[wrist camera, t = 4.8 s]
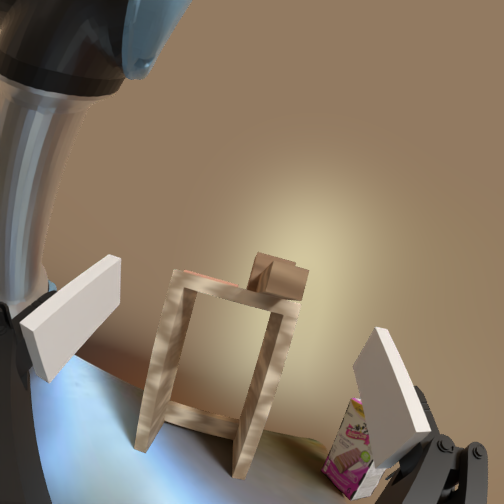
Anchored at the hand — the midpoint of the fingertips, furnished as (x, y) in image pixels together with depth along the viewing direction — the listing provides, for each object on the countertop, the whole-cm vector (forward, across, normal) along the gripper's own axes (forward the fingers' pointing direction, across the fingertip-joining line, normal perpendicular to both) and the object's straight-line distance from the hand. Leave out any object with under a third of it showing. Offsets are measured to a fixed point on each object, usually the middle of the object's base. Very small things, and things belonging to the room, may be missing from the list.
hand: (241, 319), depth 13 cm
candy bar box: (+8, +26, -38) cm, 46 cm away
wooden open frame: (+13, -1, -40) cm, 42 cm away
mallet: (+22, +3, -11) cm, 25 cm away
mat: (+28, -5, -14) cm, 32 cm away
